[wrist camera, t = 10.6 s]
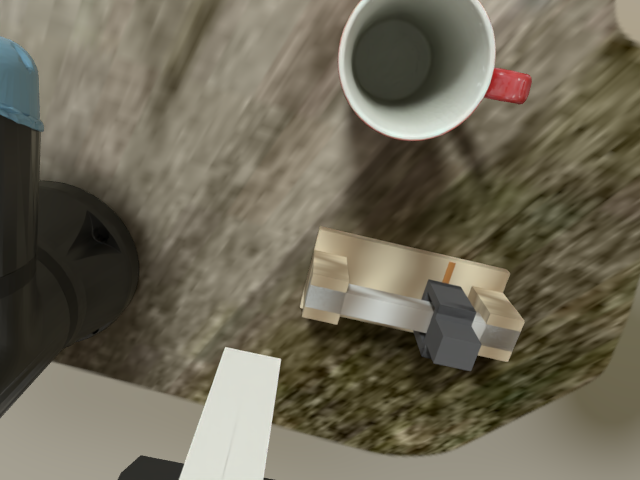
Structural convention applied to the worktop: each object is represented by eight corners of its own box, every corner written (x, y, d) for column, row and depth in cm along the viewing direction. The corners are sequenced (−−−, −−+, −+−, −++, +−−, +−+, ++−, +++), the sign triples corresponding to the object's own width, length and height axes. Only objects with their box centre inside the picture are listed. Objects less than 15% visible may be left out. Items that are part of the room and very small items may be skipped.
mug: (320, 101, 42) (319, 117, 30) (352, -15, 39) (365, -51, 27) (462, 142, 43) (518, 175, 31) (502, 32, 40) (584, 19, 28)
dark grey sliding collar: (411, 327, 46) (428, 376, 39) (428, 279, 44) (448, 321, 37) (443, 334, 46) (465, 384, 39) (460, 286, 45) (487, 330, 37)
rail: (300, 302, 49) (296, 339, 42) (319, 226, 46) (318, 252, 40) (478, 342, 50) (500, 383, 43) (506, 269, 47) (535, 301, 41)
